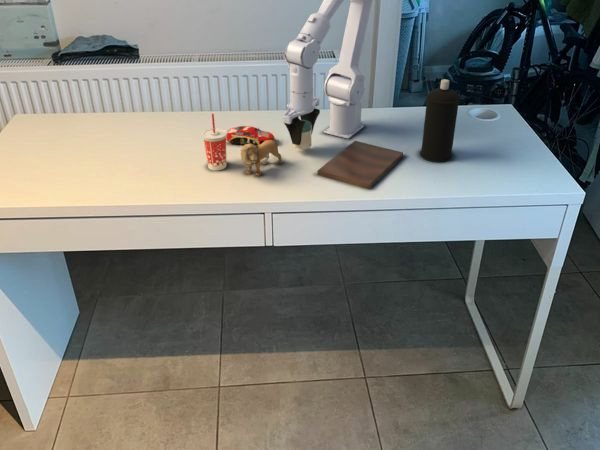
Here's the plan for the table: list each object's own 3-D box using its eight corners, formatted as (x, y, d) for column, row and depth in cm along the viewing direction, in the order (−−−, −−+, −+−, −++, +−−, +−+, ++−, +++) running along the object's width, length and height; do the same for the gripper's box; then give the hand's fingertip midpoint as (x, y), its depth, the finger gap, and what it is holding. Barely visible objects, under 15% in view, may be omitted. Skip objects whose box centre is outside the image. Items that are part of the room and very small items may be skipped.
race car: (277, 140, 168) (276, 126, 166) (271, 148, 164) (271, 134, 161) (231, 135, 171) (230, 122, 168) (224, 143, 166) (223, 130, 164)
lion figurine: (255, 184, 147) (253, 149, 142) (236, 178, 149) (234, 145, 144) (286, 159, 158) (285, 127, 153) (268, 155, 160) (267, 123, 155)
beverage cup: (233, 162, 157) (229, 111, 149) (222, 173, 152) (218, 120, 144) (211, 159, 158) (207, 107, 151) (200, 169, 154) (195, 117, 146)
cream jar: (298, 139, 164) (298, 118, 160) (315, 143, 161) (315, 122, 158) (288, 146, 160) (288, 125, 157) (305, 150, 158) (305, 129, 154)
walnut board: (354, 144, 165) (355, 140, 165) (403, 156, 159) (403, 152, 158) (317, 174, 151) (317, 170, 150) (368, 189, 145) (369, 184, 144)
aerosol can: (452, 163, 155) (463, 87, 145) (419, 161, 157) (427, 85, 146) (452, 149, 162) (462, 76, 151) (420, 147, 164) (428, 74, 153)
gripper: (302, 78, 160) (303, 126, 167) (271, 96, 149) (273, 146, 157) (326, 83, 156) (325, 132, 164) (296, 101, 146) (297, 153, 153)
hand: (301, 139), depth 160 cm, fingers closed on cream jar, 5 cm apart
